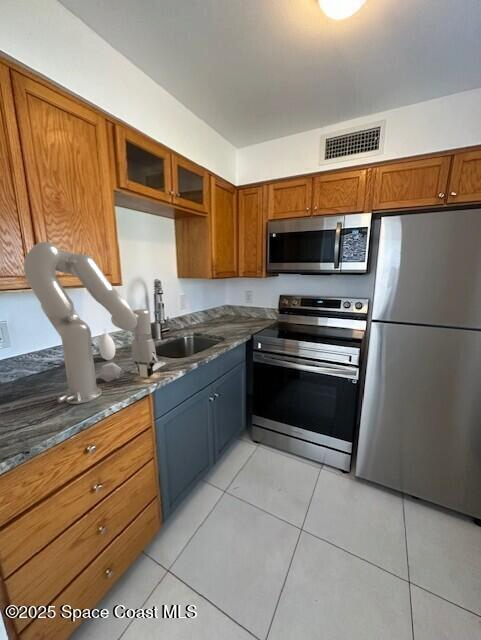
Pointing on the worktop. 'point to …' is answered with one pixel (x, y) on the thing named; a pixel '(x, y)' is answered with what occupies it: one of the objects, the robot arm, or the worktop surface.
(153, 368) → the tray
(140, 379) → the pad
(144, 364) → the label box
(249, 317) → the worktop surface
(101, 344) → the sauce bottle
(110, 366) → the die
